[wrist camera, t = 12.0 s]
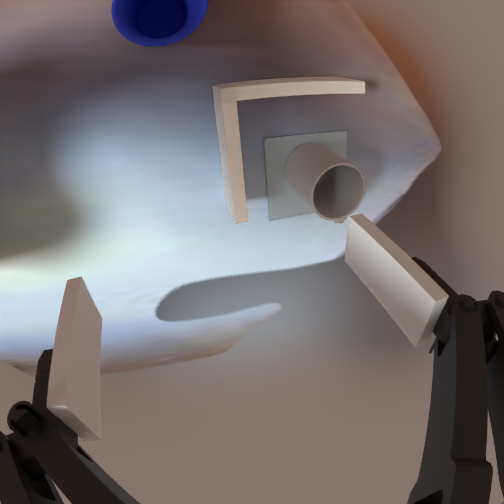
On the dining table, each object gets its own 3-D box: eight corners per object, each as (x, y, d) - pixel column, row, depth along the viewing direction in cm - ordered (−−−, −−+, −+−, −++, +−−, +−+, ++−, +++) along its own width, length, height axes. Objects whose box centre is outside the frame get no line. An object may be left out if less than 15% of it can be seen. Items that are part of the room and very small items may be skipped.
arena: (226, 202, 43) (235, 223, 38) (211, 85, 33) (220, 88, 29) (338, 183, 45) (359, 200, 41) (339, 76, 36) (365, 81, 31)
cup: (323, 133, 40) (358, 153, 33) (341, 193, 46) (373, 221, 39) (275, 154, 40) (302, 179, 33) (298, 214, 46) (325, 247, 39)
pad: (268, 220, 46) (269, 220, 46) (263, 138, 39) (264, 139, 39) (342, 205, 48) (343, 206, 48) (346, 130, 41) (347, 130, 41)
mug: (238, 6, 29) (264, -10, 21) (152, 65, 30) (148, 64, 22) (198, -41, 24) (211, -72, 16) (110, 17, 25) (93, 3, 18)
